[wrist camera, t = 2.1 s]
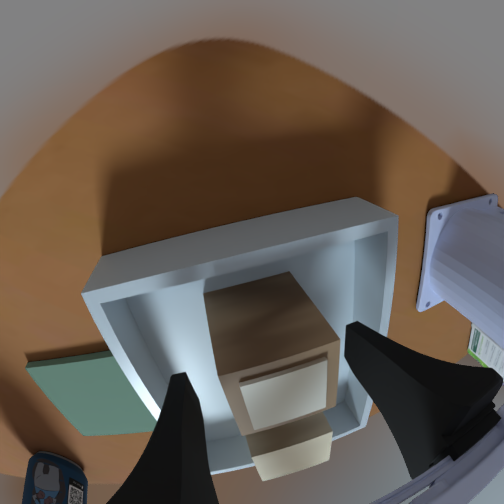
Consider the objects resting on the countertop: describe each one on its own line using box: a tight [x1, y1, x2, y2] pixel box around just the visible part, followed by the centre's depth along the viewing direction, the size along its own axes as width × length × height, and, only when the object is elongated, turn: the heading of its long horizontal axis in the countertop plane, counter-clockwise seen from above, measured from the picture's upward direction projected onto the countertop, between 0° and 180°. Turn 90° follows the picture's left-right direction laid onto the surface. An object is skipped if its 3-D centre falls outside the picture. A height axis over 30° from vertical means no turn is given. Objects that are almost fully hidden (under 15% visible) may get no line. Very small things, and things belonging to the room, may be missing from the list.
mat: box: [25, 350, 157, 436], centre depth 16 cm, size 8×8×1 cm
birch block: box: [245, 411, 333, 481], centre depth 16 cm, size 4×4×6 cm
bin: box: [81, 197, 398, 475], centre depth 16 cm, size 13×17×4 cm
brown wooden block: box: [203, 271, 340, 436], centre depth 13 cm, size 4×4×6 cm
